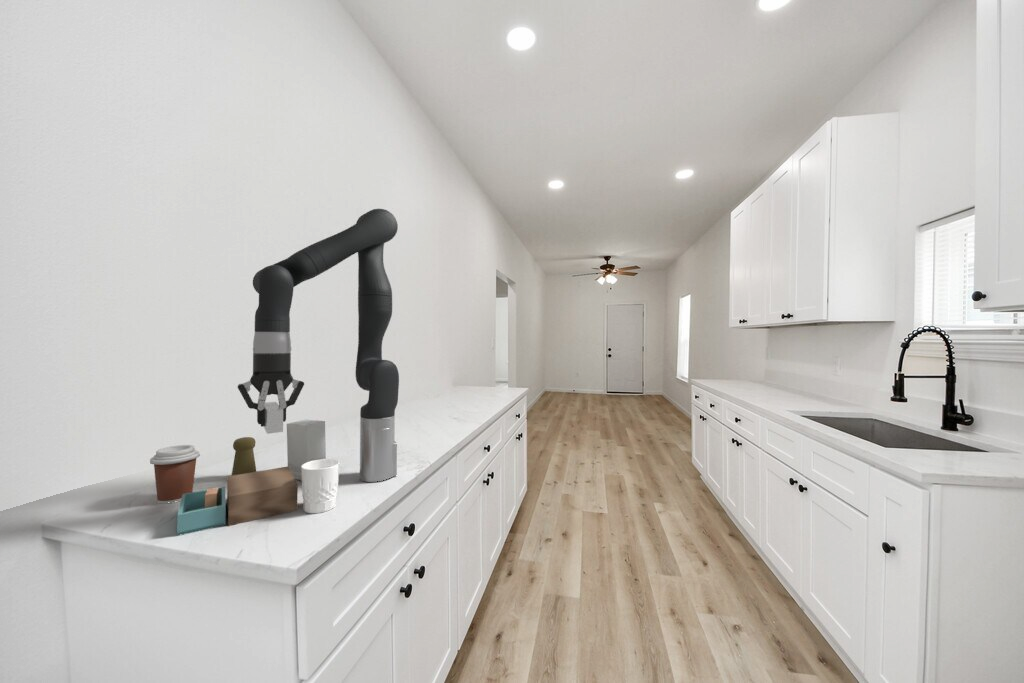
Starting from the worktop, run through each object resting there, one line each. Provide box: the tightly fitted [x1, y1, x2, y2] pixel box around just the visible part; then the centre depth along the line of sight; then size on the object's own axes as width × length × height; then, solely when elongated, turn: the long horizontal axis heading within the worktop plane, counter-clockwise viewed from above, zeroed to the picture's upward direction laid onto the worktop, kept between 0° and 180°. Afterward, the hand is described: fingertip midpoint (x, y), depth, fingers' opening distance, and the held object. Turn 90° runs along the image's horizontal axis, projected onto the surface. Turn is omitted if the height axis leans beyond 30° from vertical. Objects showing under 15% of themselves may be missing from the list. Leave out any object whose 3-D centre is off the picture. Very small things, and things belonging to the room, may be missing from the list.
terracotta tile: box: [205, 487, 220, 508], centre depth 85 cm, size 4×4×2 cm
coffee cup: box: [149, 444, 201, 504], centre depth 92 cm, size 9×9×12 cm
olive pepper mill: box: [230, 436, 257, 476], centre depth 107 cm, size 6×6×11 cm
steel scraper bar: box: [262, 401, 284, 435], centre depth 89 cm, size 3×14×5 cm, turn 38°
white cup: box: [301, 458, 340, 514], centre depth 88 cm, size 8×8×10 cm
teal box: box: [176, 486, 227, 536], centre depth 82 cm, size 8×13×4 cm, turn 38°
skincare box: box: [286, 418, 327, 481], centre depth 108 cm, size 8×7×16 cm
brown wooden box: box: [226, 465, 299, 527], centre depth 88 cm, size 12×15×6 cm
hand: (271, 424), depth 89 cm, fingers closed on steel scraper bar, 3 cm apart
